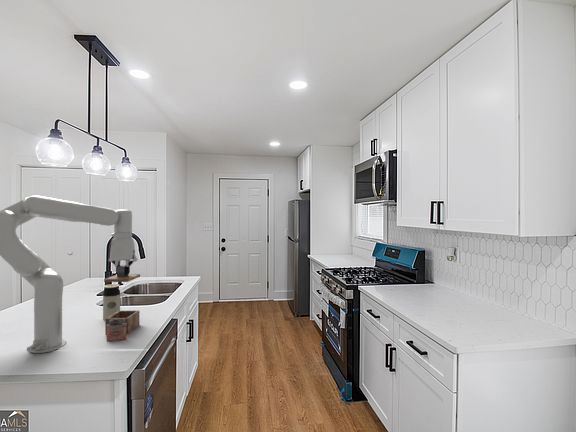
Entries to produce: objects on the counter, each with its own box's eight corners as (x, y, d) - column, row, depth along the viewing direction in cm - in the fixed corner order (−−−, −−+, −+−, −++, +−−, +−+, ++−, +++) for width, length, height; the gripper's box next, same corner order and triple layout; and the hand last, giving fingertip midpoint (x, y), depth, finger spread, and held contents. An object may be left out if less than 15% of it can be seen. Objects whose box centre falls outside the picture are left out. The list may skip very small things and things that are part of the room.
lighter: (105, 344, 145) (105, 320, 145) (107, 341, 148) (107, 318, 148) (125, 342, 147) (125, 319, 147) (127, 339, 150) (127, 316, 150)
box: (127, 336, 154) (127, 318, 154) (105, 336, 154) (105, 318, 154) (139, 326, 167) (139, 310, 167) (118, 326, 167) (118, 310, 167)
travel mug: (105, 318, 181) (105, 284, 181) (121, 317, 183) (121, 283, 183) (101, 322, 173) (101, 287, 173) (118, 321, 175) (118, 286, 175)
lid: (127, 281, 154) (128, 268, 154) (104, 281, 153) (104, 268, 153) (140, 276, 167) (140, 263, 167) (118, 276, 167) (118, 263, 167)
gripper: (101, 236, 156) (101, 276, 156) (137, 236, 157) (137, 276, 157) (109, 235, 164) (109, 273, 164) (143, 235, 164) (143, 273, 164)
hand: (122, 274), depth 160 cm, fingers closed on lid, 3 cm apart
